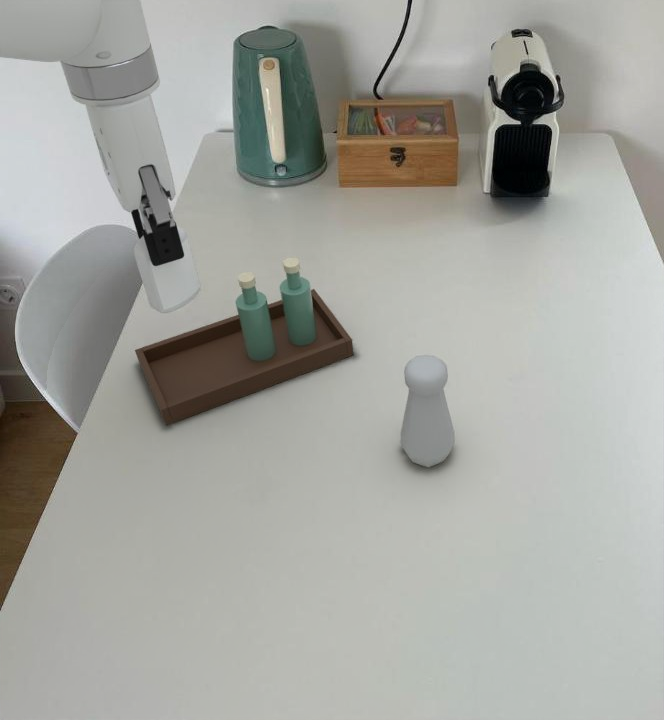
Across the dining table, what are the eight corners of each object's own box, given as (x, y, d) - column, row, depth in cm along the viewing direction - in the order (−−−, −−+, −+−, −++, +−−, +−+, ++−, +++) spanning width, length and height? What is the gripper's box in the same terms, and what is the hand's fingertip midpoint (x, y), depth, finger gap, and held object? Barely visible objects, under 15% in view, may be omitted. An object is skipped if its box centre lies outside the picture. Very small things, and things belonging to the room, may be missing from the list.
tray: (166, 425, 92) (160, 409, 90) (140, 365, 100) (134, 349, 98) (353, 355, 100) (352, 339, 98) (316, 304, 107) (314, 288, 105)
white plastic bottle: (207, 303, 85) (182, 204, 77) (154, 318, 84) (123, 219, 76) (198, 280, 88) (173, 183, 80) (146, 294, 87) (115, 197, 79)
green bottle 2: (294, 349, 100) (282, 275, 92) (284, 333, 102) (270, 258, 94) (321, 339, 101) (311, 265, 93) (310, 323, 103) (299, 249, 96)
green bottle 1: (252, 364, 98) (236, 290, 90) (242, 347, 100) (225, 273, 93) (280, 354, 99) (266, 280, 91) (269, 338, 102) (255, 263, 94)
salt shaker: (430, 424, 91) (429, 337, 82) (465, 454, 87) (468, 366, 78) (390, 450, 88) (384, 363, 79) (424, 482, 85) (422, 394, 76)
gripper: (48, 47, 74) (105, 219, 86) (87, 120, 62) (146, 305, 75) (131, 30, 76) (174, 200, 88) (182, 97, 65) (224, 280, 77)
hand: (161, 246), depth 81 cm, fingers closed on white plastic bottle, 4 cm apart
